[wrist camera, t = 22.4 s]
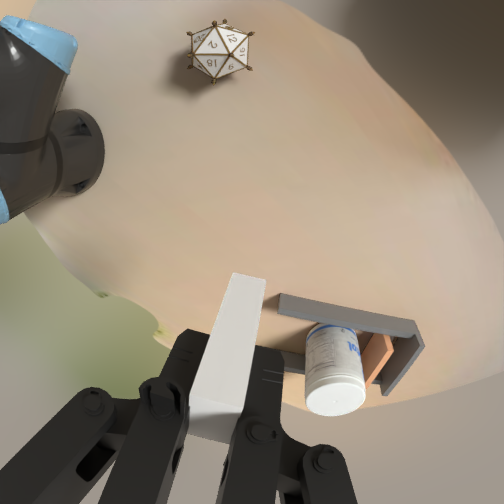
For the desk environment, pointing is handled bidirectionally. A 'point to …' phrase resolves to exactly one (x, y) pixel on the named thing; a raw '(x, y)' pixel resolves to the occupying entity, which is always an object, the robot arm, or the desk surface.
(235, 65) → the game die
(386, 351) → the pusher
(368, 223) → the desk surface
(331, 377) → the supplement tub
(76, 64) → the desk surface
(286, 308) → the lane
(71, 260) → the desk surface
